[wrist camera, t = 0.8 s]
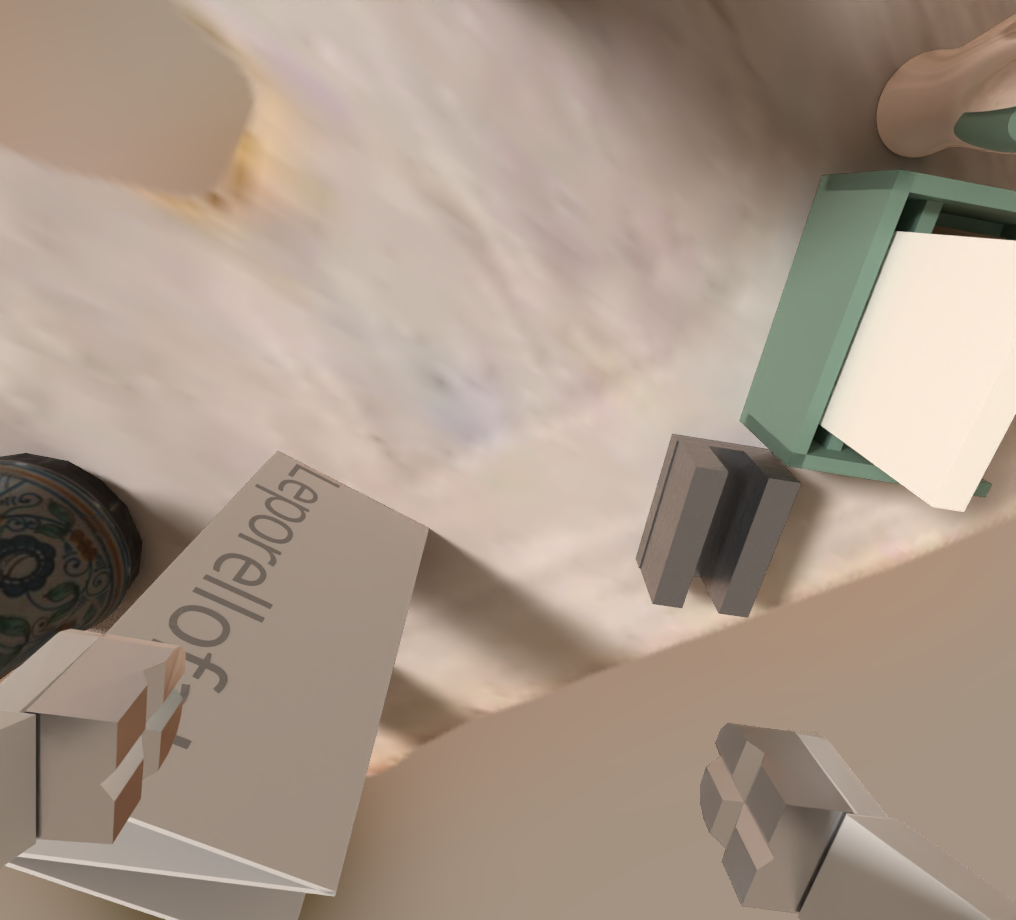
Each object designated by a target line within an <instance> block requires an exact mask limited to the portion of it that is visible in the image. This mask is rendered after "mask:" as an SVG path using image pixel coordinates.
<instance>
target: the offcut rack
mask: <svg viewBox="0 0 1016 920" xmlns="http://www.w3.org/2000/svg"><path fill="white" fill-rule="evenodd" d="M934 226H940V227H945V228H951V229H956V230H961V231H967V232H972V233H978V234H983V235H988V236H994V237H999V238H1005V239H1006V240H1014V241H1016V191H1012V190H1007V189H1002V188H996V187H991V186H986V185H981V184H975V183H970V182H965V181H960V180H954V179H949V178H944V177H939V176H933V175H928V174H923V173H918V172H912V171H907V170H902V169H896V170H883V171H871V172H858V173H846V174H834V175H822V178H821V181H820V184H819V187H818V190H817V193H816V196H815V198H814V201H813V204H812V207H811V210H810V213H809V216H808V219H807V222H806V225H805V228H804V231H803V234H802V237H801V240H800V243H799V246H798V249H797V252H796V255H795V258H794V261H793V264H792V267H791V270H790V273H789V276H788V279H787V282H786V285H785V288H784V291H783V293H782V296H781V299H780V302H779V305H778V308H777V311H776V314H775V317H774V320H773V323H772V326H771V329H770V332H769V335H768V338H767V341H766V344H765V347H764V350H763V353H762V356H761V359H760V362H759V365H758V368H757V371H756V374H755V377H754V380H753V383H752V386H751V389H750V391H749V394H748V397H747V400H746V403H745V406H744V409H743V412H742V415H741V418H740V421H741V422H742V423H743V424H744V425H745V426H746V427H747V428H748V429H749V430H750V431H751V432H752V433H753V434H754V435H755V436H756V437H757V438H758V439H759V440H760V441H761V442H762V443H763V444H764V445H765V446H766V447H767V448H769V449H770V450H771V451H772V452H773V453H774V454H775V455H776V456H777V457H778V458H779V459H780V460H781V461H782V462H783V463H784V464H785V465H786V466H789V467H796V468H802V469H808V470H815V471H821V472H827V473H834V474H840V475H846V476H853V477H859V478H865V479H872V480H878V481H884V482H890V483H897V484H900V483H899V482H897V481H896V480H895V479H893V478H892V477H890V476H889V475H888V474H886V473H885V472H884V471H882V470H881V469H880V468H878V467H877V466H875V465H874V464H873V463H871V462H870V461H869V460H867V459H866V458H864V457H863V456H862V455H860V454H859V453H858V452H856V451H855V450H854V449H852V448H851V447H849V446H848V445H847V444H845V443H844V442H843V441H841V440H840V439H839V438H837V437H836V436H834V435H833V434H832V433H830V432H829V431H828V430H826V429H825V428H823V427H822V426H821V425H819V421H820V419H821V416H822V414H823V411H824V409H825V406H826V403H827V401H828V398H829V396H830V393H831V391H832V388H833V386H834V383H835V381H836V378H837V375H838V373H839V370H840V368H841V365H842V363H843V360H844V358H845V355H846V353H847V350H848V347H849V345H850V342H851V340H852V337H853V335H854V332H855V330H856V327H857V325H858V322H859V319H860V317H861V314H862V312H863V309H864V307H865V304H866V302H867V299H868V297H869V294H870V291H871V289H872V286H873V284H874V281H875V279H876V276H877V274H878V271H879V269H880V266H881V263H882V261H883V258H884V256H885V253H886V251H887V248H888V246H889V243H890V241H891V238H892V235H893V233H894V231H902V232H914V233H927V234H931V232H932V230H933V228H934ZM991 486H992V484H991V483H989V482H987V481H986V480H984V479H981V481H980V483H979V484H978V486H977V488H976V490H975V492H974V494H973V496H979V497H986V495H987V493H988V491H989V489H990V487H991Z"/></svg>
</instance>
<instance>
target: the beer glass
mask: <svg viewBox="0 0 1016 920" xmlns="http://www.w3.org/2000/svg"><path fill="white" fill-rule="evenodd" d="M876 122H877V129H878V133H879V136H880V138H881V140H882V141H883V143H884V144H885V146H886V147H887V148H888V149H889V150H891V151H892V152H894V153H895V154H898V155H900V156H904V157H910V158H915V157H922V156H927V155H930V154H933V153H936V152H938V151H940V150H943V149H945V148H948V147H952V146H956V147H964V148H969V149H974V150H980V151H986V152H992V153H1003V154H1015V155H1016V14H1015V15H1013V16H1011V17H1009V18H1007V19H1006V20H1004V21H1002V22H1001V23H999V24H998V25H996V26H994V27H993V28H991V29H990V30H988V31H986V32H985V33H983V34H982V35H980V36H979V37H977V38H976V39H974V40H972V41H971V42H969V43H968V44H966V45H964V46H962V47H960V48H957V49H940V50H932V51H928V52H925V53H922V54H919V55H917V56H915V57H913V58H912V59H910V60H908V61H907V62H906V63H904V64H903V65H902V66H901V67H900V68H899V69H898V70H897V71H896V72H895V73H894V74H893V75H892V77H891V78H890V79H889V81H888V82H887V84H886V86H885V87H884V89H883V91H882V94H881V96H880V99H879V102H878V107H877V114H876Z"/></svg>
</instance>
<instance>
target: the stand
mask: <svg viewBox="0 0 1016 920" xmlns="http://www.w3.org/2000/svg"><path fill="white" fill-rule="evenodd" d="M800 485H801V482H800V481H798V480H797V479H796V478H795V477H794V476H793V475H792V474H791V473H790V472H789V471H788V470H787V469H786V468H785V467H784V466H783V465H782V464H781V463H780V462H779V461H778V460H777V459H776V458H775V456H774V455H773V454H772V453H771V452H770V451H769V450H768V449H764V448H758V447H751V446H745V445H739V444H733V443H726V442H720V441H714V440H707V439H701V438H695V437H689V436H682V435H676V434H672V437H671V440H670V444H669V447H668V451H667V454H666V457H665V461H664V464H663V468H662V471H661V474H660V478H659V481H658V485H657V488H656V492H655V495H654V498H653V502H652V505H651V509H650V512H649V515H648V519H647V522H646V526H645V529H644V533H643V536H642V539H641V543H640V546H639V550H638V553H637V557H636V561H637V563H638V566H639V568H640V569H641V572H642V575H643V578H644V581H645V584H646V586H647V589H648V592H649V595H650V598H651V601H652V604H657V605H664V606H671V607H678V608H682V607H683V604H684V601H685V598H686V595H687V592H688V589H689V586H690V583H691V581H692V578H693V576H696V577H701V579H702V581H703V583H704V585H705V587H706V589H707V591H708V593H709V595H710V597H711V599H712V601H713V603H714V605H715V607H716V609H717V611H718V613H720V614H727V615H734V616H741V617H748V616H749V614H750V611H751V608H752V606H753V603H754V601H755V598H756V596H757V593H758V591H759V588H760V586H761V583H762V581H763V578H764V576H765V573H766V571H767V568H768V566H769V563H770V561H771V558H772V556H773V553H774V551H775V548H776V546H777V543H778V541H779V538H780V535H781V533H782V530H783V528H784V525H785V523H786V520H787V518H788V515H789V513H790V510H791V508H792V505H793V503H794V500H795V498H796V495H797V493H798V490H799V488H800Z"/></svg>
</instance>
